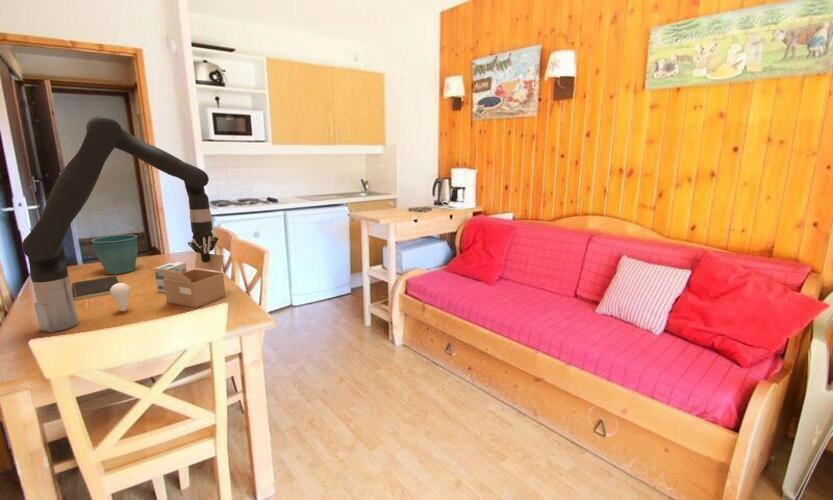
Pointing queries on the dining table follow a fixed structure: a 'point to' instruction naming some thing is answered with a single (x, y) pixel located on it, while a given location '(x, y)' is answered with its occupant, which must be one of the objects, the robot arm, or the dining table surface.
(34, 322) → the dining table surface
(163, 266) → the light bulb box
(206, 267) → the far flap
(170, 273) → the near flap
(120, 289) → the lightbulb
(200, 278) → the carton
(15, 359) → the dining table surface
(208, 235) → the robot arm
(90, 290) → the hardcover book
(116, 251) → the flower pot
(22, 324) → the dining table surface
